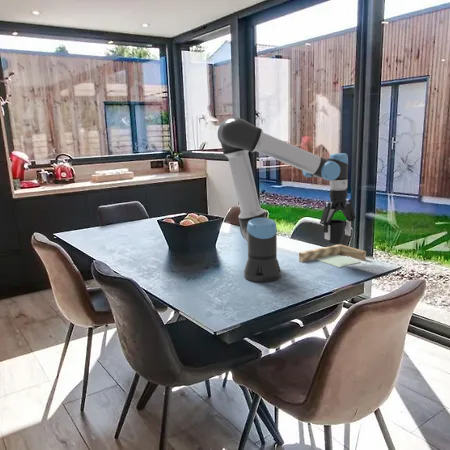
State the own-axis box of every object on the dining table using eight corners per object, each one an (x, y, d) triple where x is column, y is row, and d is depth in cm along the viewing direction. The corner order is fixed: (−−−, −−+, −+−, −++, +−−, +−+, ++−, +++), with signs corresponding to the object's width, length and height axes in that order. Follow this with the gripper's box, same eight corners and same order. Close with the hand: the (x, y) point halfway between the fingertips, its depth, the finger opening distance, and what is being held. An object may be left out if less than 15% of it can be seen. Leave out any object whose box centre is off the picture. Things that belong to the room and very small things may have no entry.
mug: (353, 240, 194) (353, 219, 192) (337, 245, 186) (337, 224, 184) (337, 237, 200) (338, 217, 198) (321, 242, 193) (322, 221, 191)
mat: (338, 267, 186) (338, 266, 186) (315, 259, 199) (315, 258, 198) (360, 262, 192) (360, 261, 192) (336, 254, 205) (336, 254, 205)
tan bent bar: (323, 269, 183) (323, 260, 183) (299, 260, 197) (299, 252, 196) (365, 259, 196) (365, 251, 195) (339, 252, 209) (340, 244, 209)
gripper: (323, 192, 179) (323, 243, 184) (364, 187, 191) (363, 234, 196) (311, 191, 186) (311, 239, 190) (351, 185, 197) (350, 231, 202)
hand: (337, 237), depth 193 cm, fingers closed on mug, 12 cm apart
